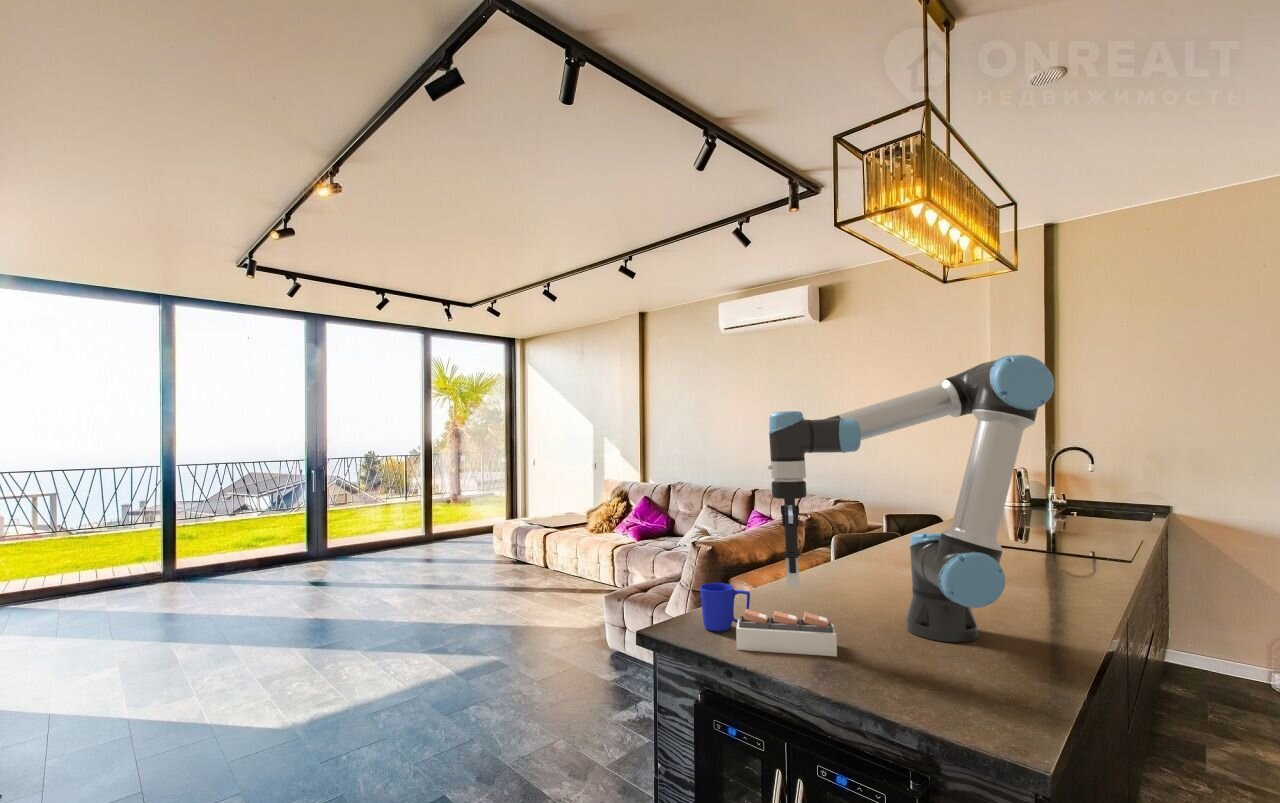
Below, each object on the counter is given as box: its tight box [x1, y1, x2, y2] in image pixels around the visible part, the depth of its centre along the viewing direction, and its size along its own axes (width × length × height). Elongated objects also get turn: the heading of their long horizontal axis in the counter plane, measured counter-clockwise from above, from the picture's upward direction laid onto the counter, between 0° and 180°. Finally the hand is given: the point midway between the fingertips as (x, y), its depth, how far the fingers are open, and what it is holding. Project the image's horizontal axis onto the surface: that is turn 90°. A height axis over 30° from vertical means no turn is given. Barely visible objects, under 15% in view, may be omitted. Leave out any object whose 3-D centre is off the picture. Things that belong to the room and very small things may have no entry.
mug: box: [699, 582, 751, 633], centre depth 140 cm, size 8×12×10 cm
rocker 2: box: [772, 610, 798, 625], centre depth 127 cm, size 5×3×2 cm, turn 76°
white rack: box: [735, 615, 838, 657], centre depth 127 cm, size 21×7×6 cm, turn 77°
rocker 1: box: [743, 608, 768, 624], centre depth 129 cm, size 5×3×2 cm, turn 76°
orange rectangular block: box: [802, 611, 829, 627], centre depth 126 cm, size 5×3×2 cm, turn 76°
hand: (793, 586), depth 127 cm, fingers closed
